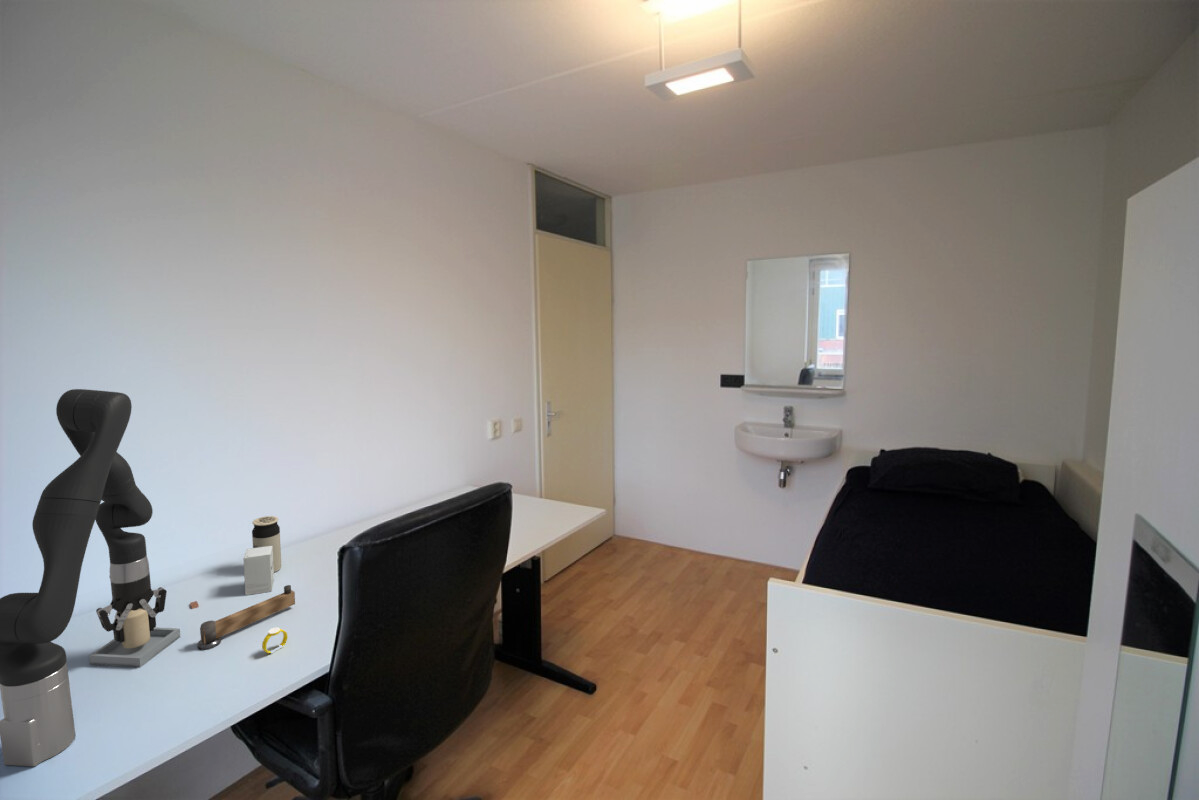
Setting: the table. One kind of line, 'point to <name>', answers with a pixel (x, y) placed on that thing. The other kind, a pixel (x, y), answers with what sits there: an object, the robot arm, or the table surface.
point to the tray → (135, 650)
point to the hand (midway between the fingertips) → (136, 635)
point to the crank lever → (246, 616)
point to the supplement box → (258, 570)
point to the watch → (271, 633)
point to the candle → (136, 629)
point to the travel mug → (268, 537)
